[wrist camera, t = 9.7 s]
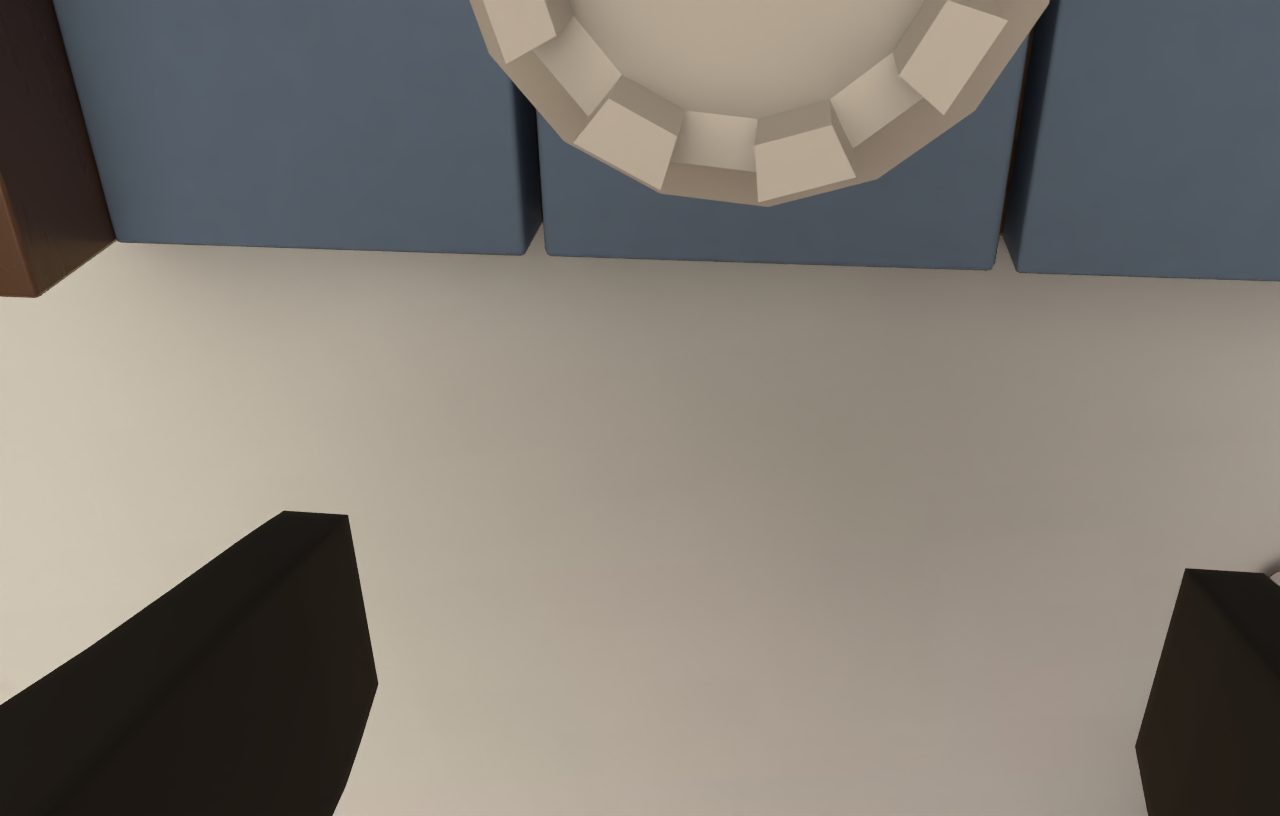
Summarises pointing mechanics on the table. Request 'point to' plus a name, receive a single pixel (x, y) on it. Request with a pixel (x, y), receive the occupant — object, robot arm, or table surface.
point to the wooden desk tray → (591, 190)
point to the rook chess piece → (753, 84)
